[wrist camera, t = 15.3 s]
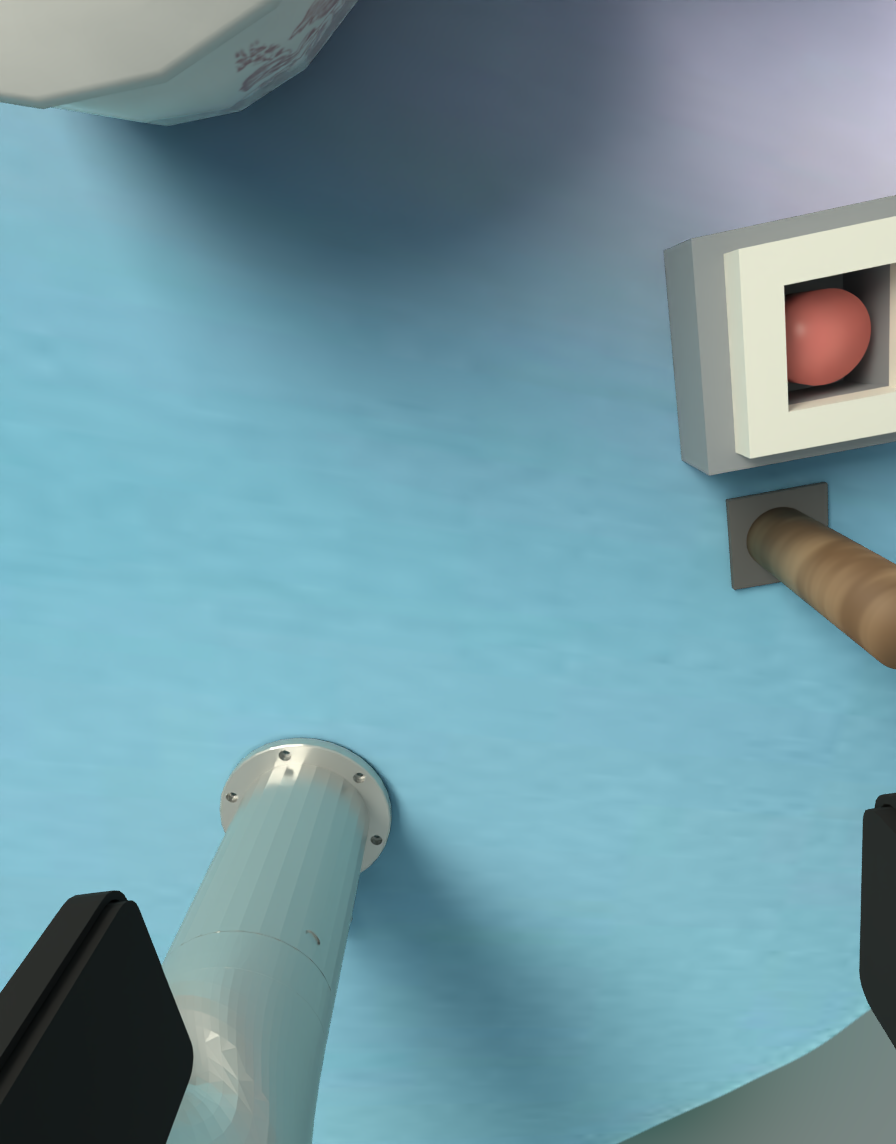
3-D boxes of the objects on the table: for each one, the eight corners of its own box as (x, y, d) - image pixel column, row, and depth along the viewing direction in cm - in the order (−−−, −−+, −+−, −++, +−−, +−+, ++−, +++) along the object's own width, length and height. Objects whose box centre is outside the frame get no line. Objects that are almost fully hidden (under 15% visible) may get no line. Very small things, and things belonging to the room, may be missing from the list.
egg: (837, 372, 40) (870, 375, 36) (752, 389, 40) (778, 393, 37) (835, 284, 38) (871, 279, 35) (747, 302, 38) (774, 299, 35)
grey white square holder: (900, 419, 41) (983, 435, 35) (681, 459, 42) (721, 482, 36) (903, 199, 37) (997, 170, 31) (663, 250, 39) (704, 232, 32)
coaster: (826, 571, 44) (829, 573, 44) (731, 587, 45) (734, 589, 44) (824, 481, 42) (827, 483, 42) (725, 499, 43) (728, 500, 43)
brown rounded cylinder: (810, 501, 42) (965, 579, 29) (812, 561, 44) (961, 662, 31) (744, 513, 43) (868, 596, 30) (748, 572, 44) (868, 677, 31)
